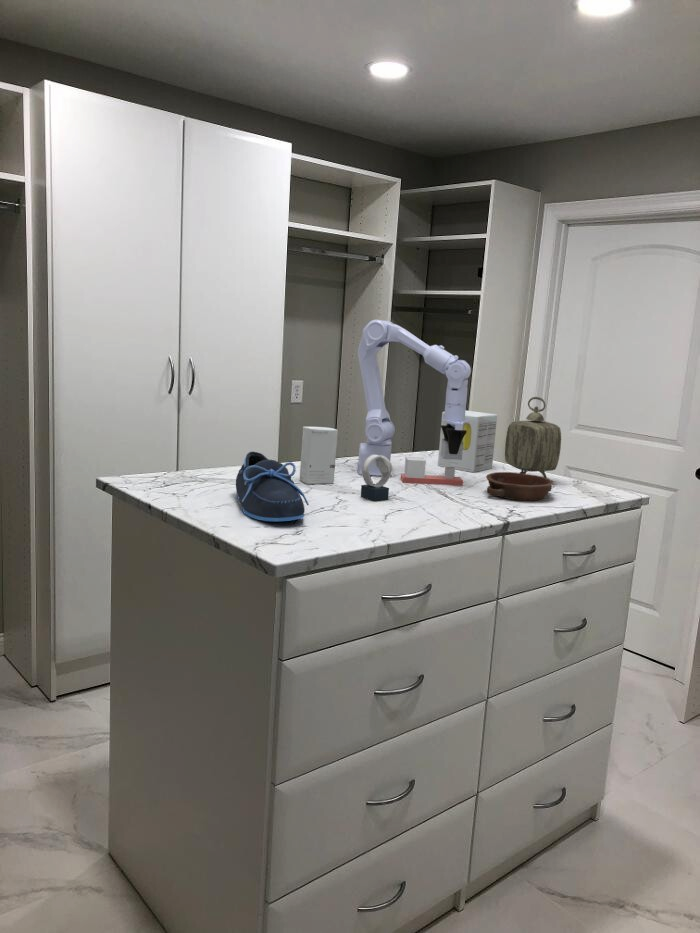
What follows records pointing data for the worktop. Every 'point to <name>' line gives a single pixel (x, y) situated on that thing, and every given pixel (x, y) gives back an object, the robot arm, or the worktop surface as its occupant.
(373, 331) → the robot arm
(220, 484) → the worktop surface
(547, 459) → the tabletop clock
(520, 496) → the dish
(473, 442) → the supplement box
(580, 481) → the worktop surface
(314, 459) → the skincare box
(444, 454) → the grey cube
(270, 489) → the moccasin
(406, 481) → the rail
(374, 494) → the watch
